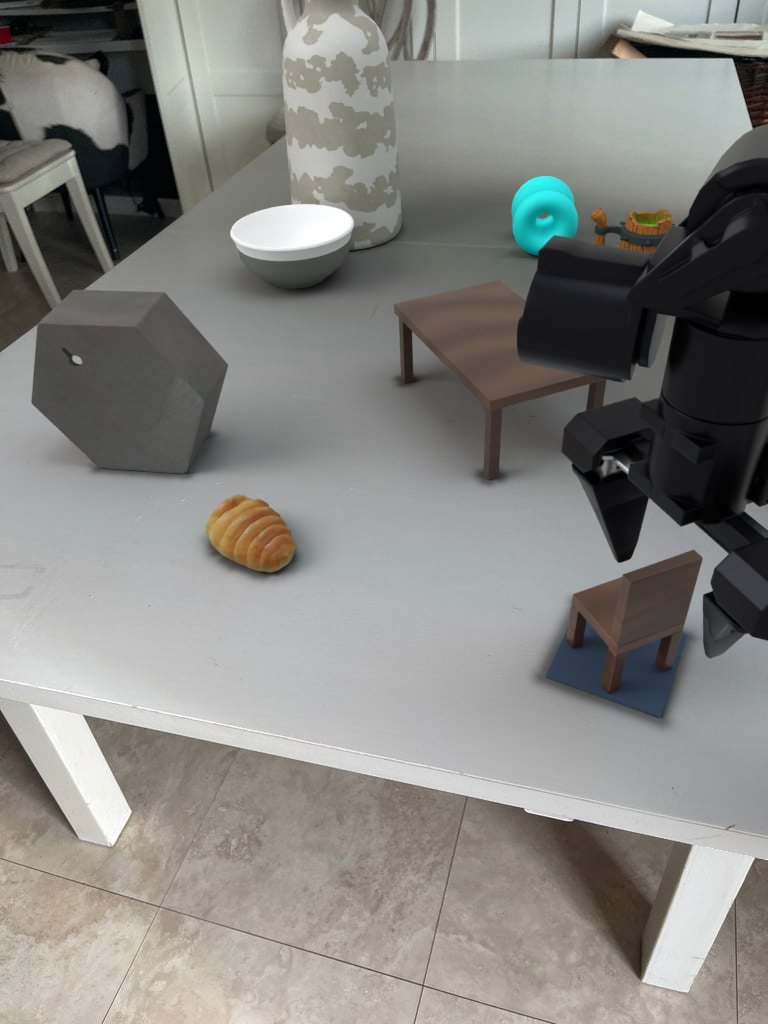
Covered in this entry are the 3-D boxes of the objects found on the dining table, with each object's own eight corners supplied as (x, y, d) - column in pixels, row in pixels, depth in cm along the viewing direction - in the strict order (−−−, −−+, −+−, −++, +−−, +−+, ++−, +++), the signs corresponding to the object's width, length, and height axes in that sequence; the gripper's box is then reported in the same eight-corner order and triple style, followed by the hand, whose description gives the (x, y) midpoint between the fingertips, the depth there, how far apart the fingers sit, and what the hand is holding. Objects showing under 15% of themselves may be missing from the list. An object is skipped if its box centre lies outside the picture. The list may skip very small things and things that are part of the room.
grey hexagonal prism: (261, 401, 89) (126, 247, 80) (240, 441, 83) (91, 279, 74) (160, 462, 97) (26, 328, 88) (134, 502, 91) (-12, 363, 82)
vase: (424, 227, 140) (420, -37, 116) (348, 261, 130) (326, -20, 106) (343, 203, 151) (323, -42, 127) (267, 233, 141) (230, -27, 117)
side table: (602, 449, 87) (614, 367, 81) (486, 483, 84) (490, 400, 77) (496, 353, 105) (499, 279, 98) (396, 378, 101) (393, 303, 95)
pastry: (315, 552, 77) (311, 521, 74) (259, 589, 73) (252, 559, 71) (255, 510, 82) (249, 480, 79) (200, 543, 78) (192, 513, 76)
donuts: (570, 234, 134) (576, 172, 128) (575, 258, 127) (582, 194, 120) (509, 235, 135) (513, 174, 129) (511, 259, 128) (514, 195, 121)
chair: (672, 669, 64) (703, 557, 56) (608, 694, 62) (630, 583, 54) (627, 618, 68) (650, 508, 60) (565, 640, 66) (581, 531, 59)
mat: (686, 636, 66) (686, 634, 66) (660, 718, 60) (661, 716, 60) (579, 602, 70) (580, 601, 70) (545, 677, 64) (545, 675, 64)
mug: (673, 277, 120) (688, 198, 112) (676, 307, 112) (692, 225, 105) (584, 273, 122) (592, 195, 115) (580, 302, 115) (589, 221, 107)
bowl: (282, 247, 136) (275, 197, 131) (379, 263, 129) (376, 211, 124) (214, 291, 124) (204, 238, 119) (317, 311, 116) (311, 256, 111)
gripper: (997, 448, 37) (881, 667, 47) (721, 294, 51) (676, 489, 61) (808, 515, 34) (726, 733, 44) (569, 333, 48) (547, 531, 58)
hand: (665, 604), depth 52 cm, fingers open, 9 cm apart
